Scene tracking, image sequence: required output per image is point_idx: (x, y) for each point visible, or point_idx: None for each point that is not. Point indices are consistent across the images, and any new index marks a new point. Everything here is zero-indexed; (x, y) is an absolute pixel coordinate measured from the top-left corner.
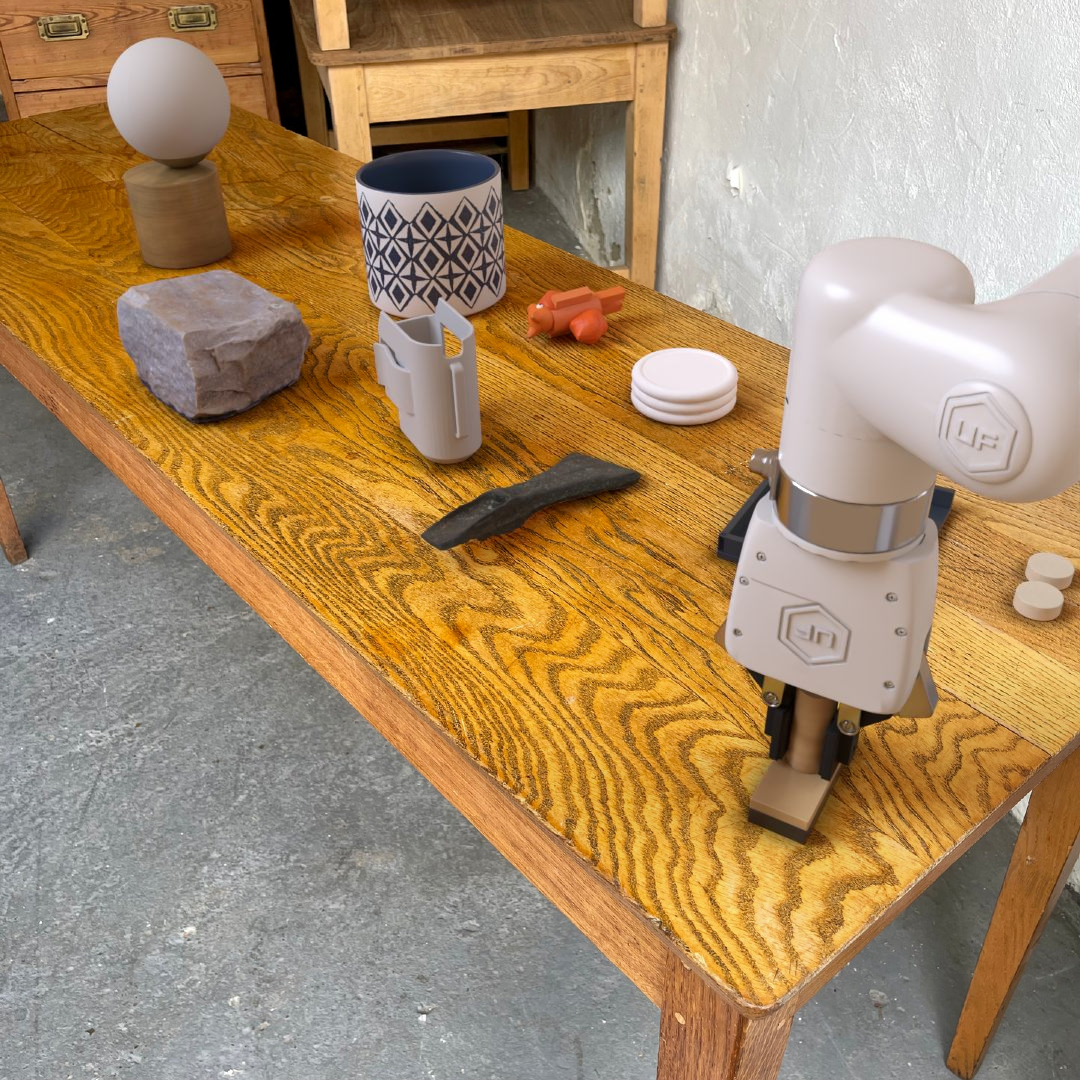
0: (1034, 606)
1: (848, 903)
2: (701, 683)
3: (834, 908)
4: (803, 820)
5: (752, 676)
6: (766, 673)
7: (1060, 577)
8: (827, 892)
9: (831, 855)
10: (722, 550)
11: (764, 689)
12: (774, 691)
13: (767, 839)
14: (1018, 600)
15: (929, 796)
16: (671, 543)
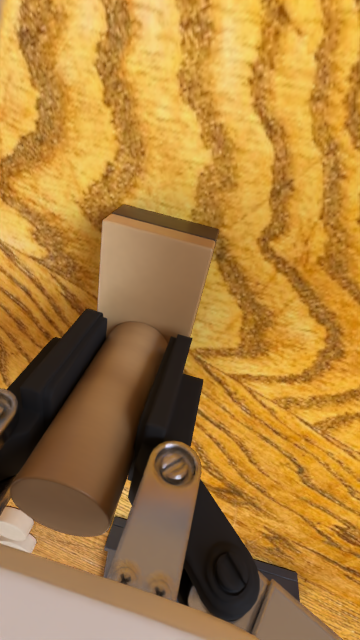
0: (6, 522)
1: (26, 95)
2: (309, 445)
3: (42, 72)
4: (111, 222)
5: (228, 524)
6: (145, 635)
7: (2, 541)
8: (63, 109)
9: (81, 195)
10: (292, 583)
11: (191, 493)
12: (163, 490)
13: (181, 199)
14: (22, 526)
15: (9, 325)
16: (348, 587)
